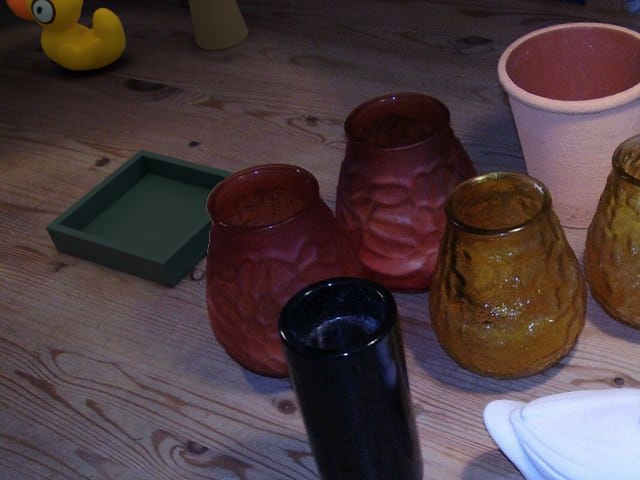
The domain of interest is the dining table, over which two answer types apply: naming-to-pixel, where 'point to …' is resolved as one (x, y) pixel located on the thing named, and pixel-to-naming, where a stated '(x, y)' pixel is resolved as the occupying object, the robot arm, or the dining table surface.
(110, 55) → the duckling
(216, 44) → the brown piece
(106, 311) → the dining table surface
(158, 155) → the tray
